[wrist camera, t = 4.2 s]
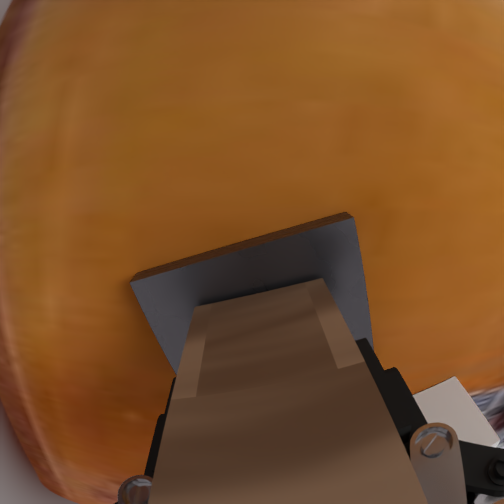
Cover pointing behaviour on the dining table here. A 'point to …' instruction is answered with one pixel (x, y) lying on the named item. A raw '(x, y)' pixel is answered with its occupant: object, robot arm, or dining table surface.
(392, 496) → the walnut post
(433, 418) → the grey bin
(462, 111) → the dining table surface
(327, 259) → the stud plate
